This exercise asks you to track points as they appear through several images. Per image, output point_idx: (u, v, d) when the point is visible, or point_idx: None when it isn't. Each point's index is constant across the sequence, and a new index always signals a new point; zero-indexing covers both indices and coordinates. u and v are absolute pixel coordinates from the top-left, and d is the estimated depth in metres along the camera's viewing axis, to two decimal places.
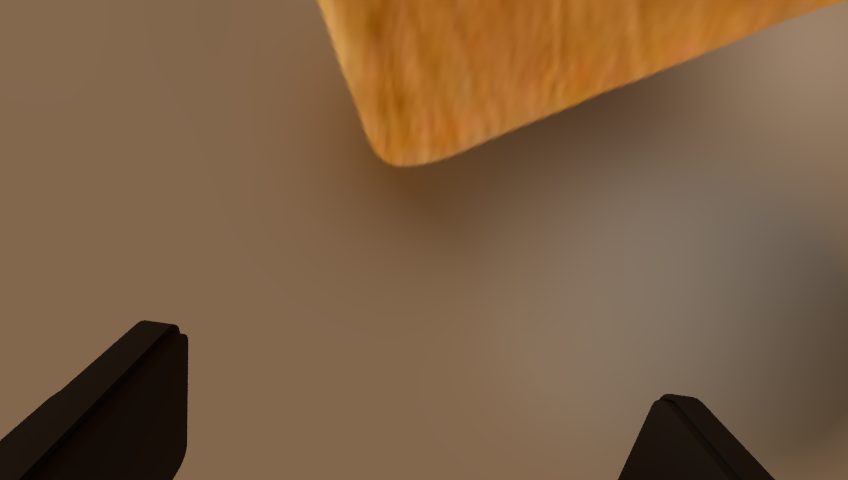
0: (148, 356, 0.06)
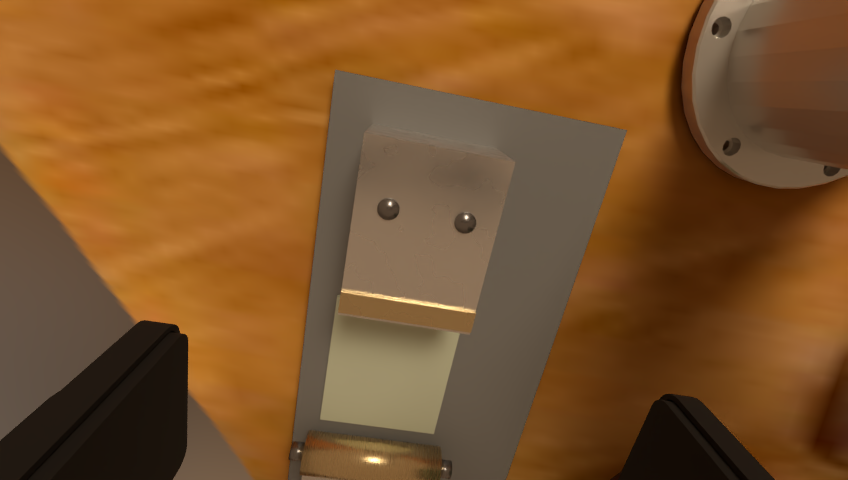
0: (148, 356, 0.06)
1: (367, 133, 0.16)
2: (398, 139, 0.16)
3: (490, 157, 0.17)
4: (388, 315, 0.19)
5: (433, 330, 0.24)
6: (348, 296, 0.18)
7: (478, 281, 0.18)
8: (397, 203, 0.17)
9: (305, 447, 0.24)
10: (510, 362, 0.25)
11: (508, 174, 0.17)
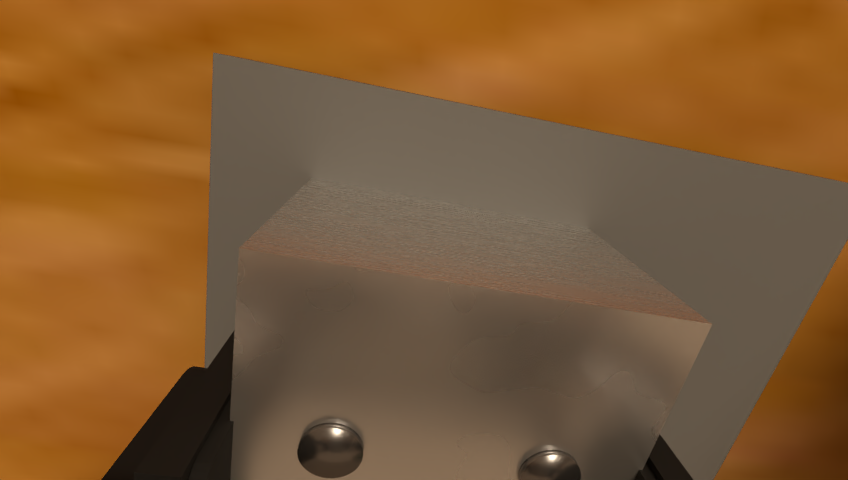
0: None
1: (252, 249, 0.05)
2: (354, 265, 0.05)
3: (636, 310, 0.05)
4: None
5: None
6: None
7: None
8: (358, 434, 0.06)
9: None
10: None
11: (686, 357, 0.06)
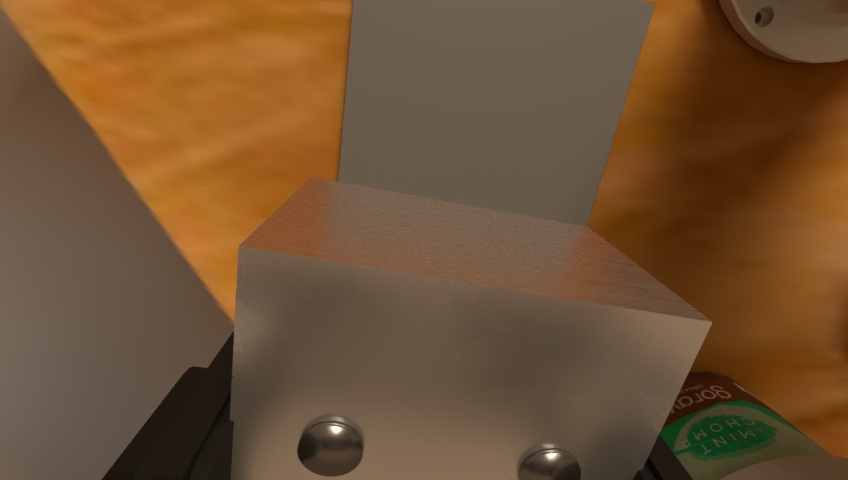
0: None
1: (252, 246, 0.05)
2: (354, 263, 0.05)
3: (637, 308, 0.05)
4: None
5: None
6: None
7: None
8: (358, 433, 0.06)
9: None
10: None
11: (687, 355, 0.06)
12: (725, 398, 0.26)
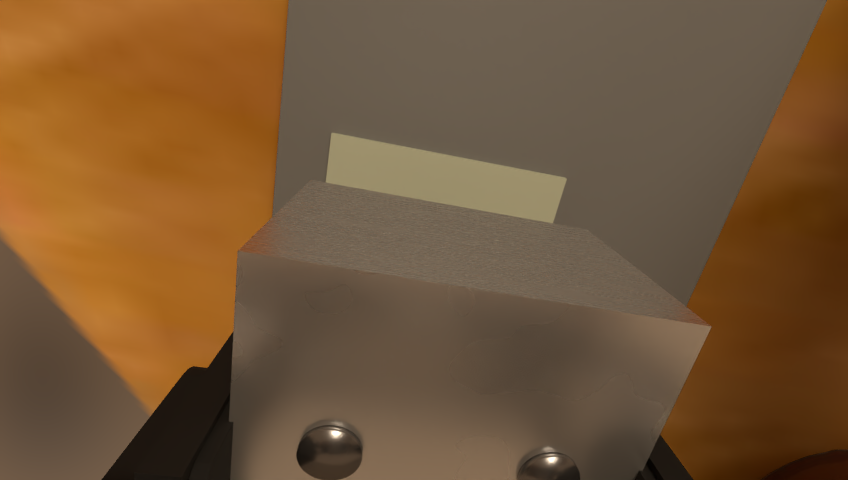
0: None
1: (251, 251, 0.05)
2: (353, 268, 0.05)
3: (636, 313, 0.05)
4: None
5: (508, 207, 0.13)
6: None
7: None
8: (357, 438, 0.06)
9: None
10: None
11: (686, 359, 0.06)
12: None
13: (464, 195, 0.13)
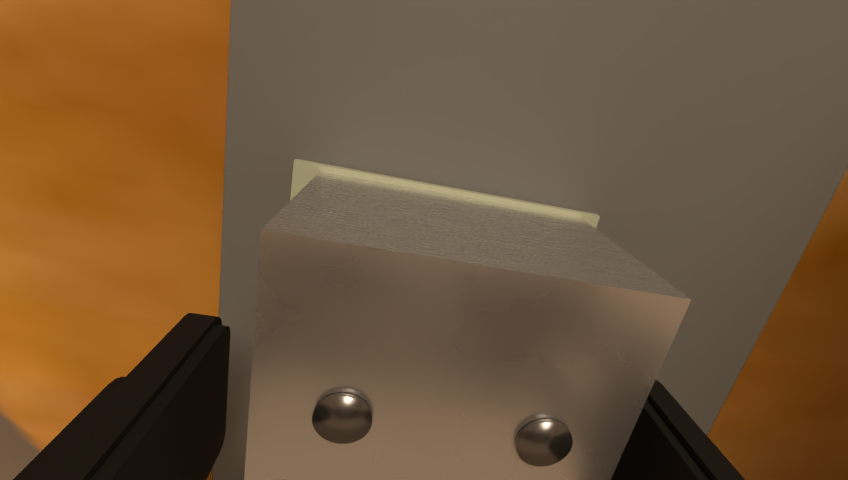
0: (199, 345, 0.07)
1: (272, 230, 0.05)
2: (365, 245, 0.06)
3: (622, 287, 0.06)
4: None
5: None
6: None
7: None
8: (367, 403, 0.06)
9: None
10: (685, 330, 0.11)
11: (668, 330, 0.06)
12: None
13: None
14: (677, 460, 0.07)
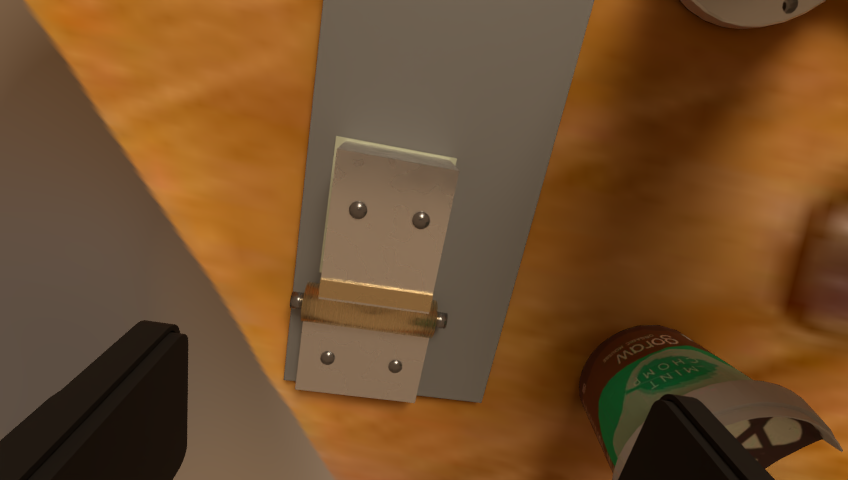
0: (148, 356, 0.06)
1: (339, 149, 0.20)
2: (364, 153, 0.20)
3: (439, 167, 0.21)
4: (360, 299, 0.23)
5: None
6: (327, 283, 0.22)
7: (433, 268, 0.22)
8: (365, 205, 0.21)
9: (306, 290, 0.25)
10: (501, 210, 0.26)
11: (454, 180, 0.21)
12: (673, 344, 0.28)
13: None
14: None
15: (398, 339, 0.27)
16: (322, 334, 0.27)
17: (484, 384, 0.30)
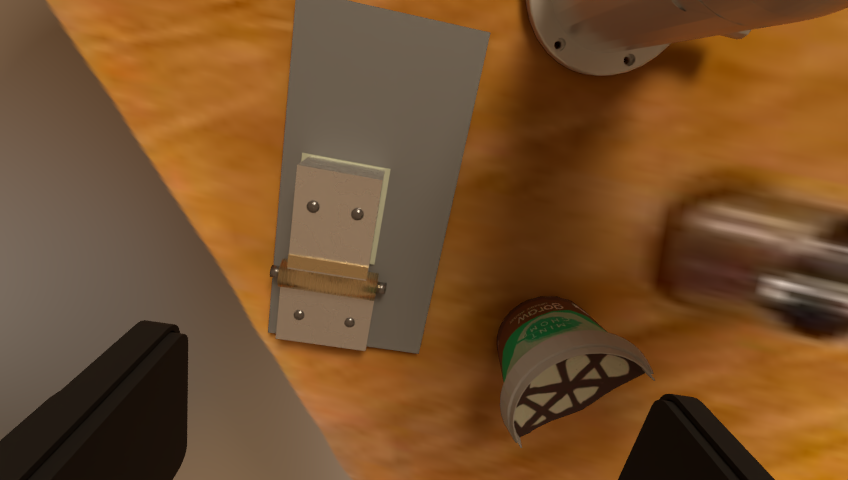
0: (148, 356, 0.06)
1: (299, 165, 0.30)
2: (316, 168, 0.30)
3: (368, 177, 0.30)
4: (317, 269, 0.32)
5: None
6: (292, 257, 0.32)
7: (368, 248, 0.32)
8: (318, 203, 0.30)
9: (281, 264, 0.34)
10: (425, 207, 0.35)
11: (379, 187, 0.30)
12: (558, 309, 0.37)
13: None
14: None
15: (351, 302, 0.37)
16: (294, 297, 0.36)
17: (420, 339, 0.40)
